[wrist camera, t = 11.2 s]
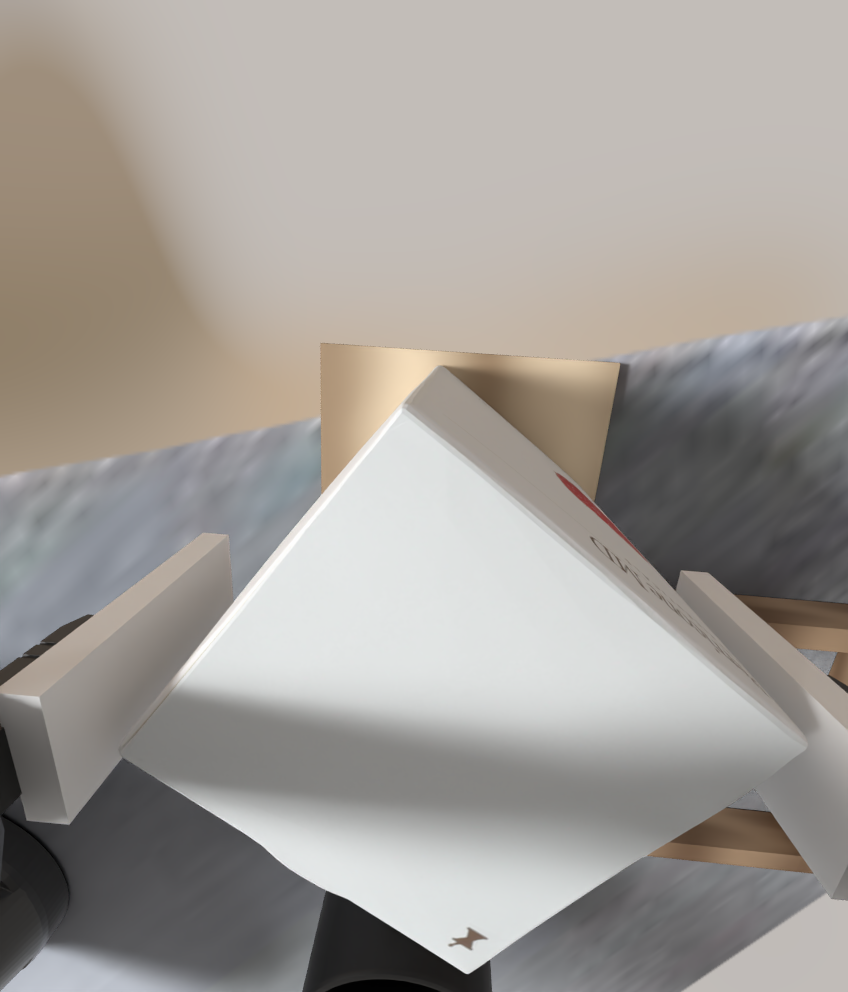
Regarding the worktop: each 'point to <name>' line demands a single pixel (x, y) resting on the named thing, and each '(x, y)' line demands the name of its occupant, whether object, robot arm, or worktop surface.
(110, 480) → the worktop surface
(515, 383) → the light wooden block
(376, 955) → the mug
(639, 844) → the supplement box
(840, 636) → the walnut frame
